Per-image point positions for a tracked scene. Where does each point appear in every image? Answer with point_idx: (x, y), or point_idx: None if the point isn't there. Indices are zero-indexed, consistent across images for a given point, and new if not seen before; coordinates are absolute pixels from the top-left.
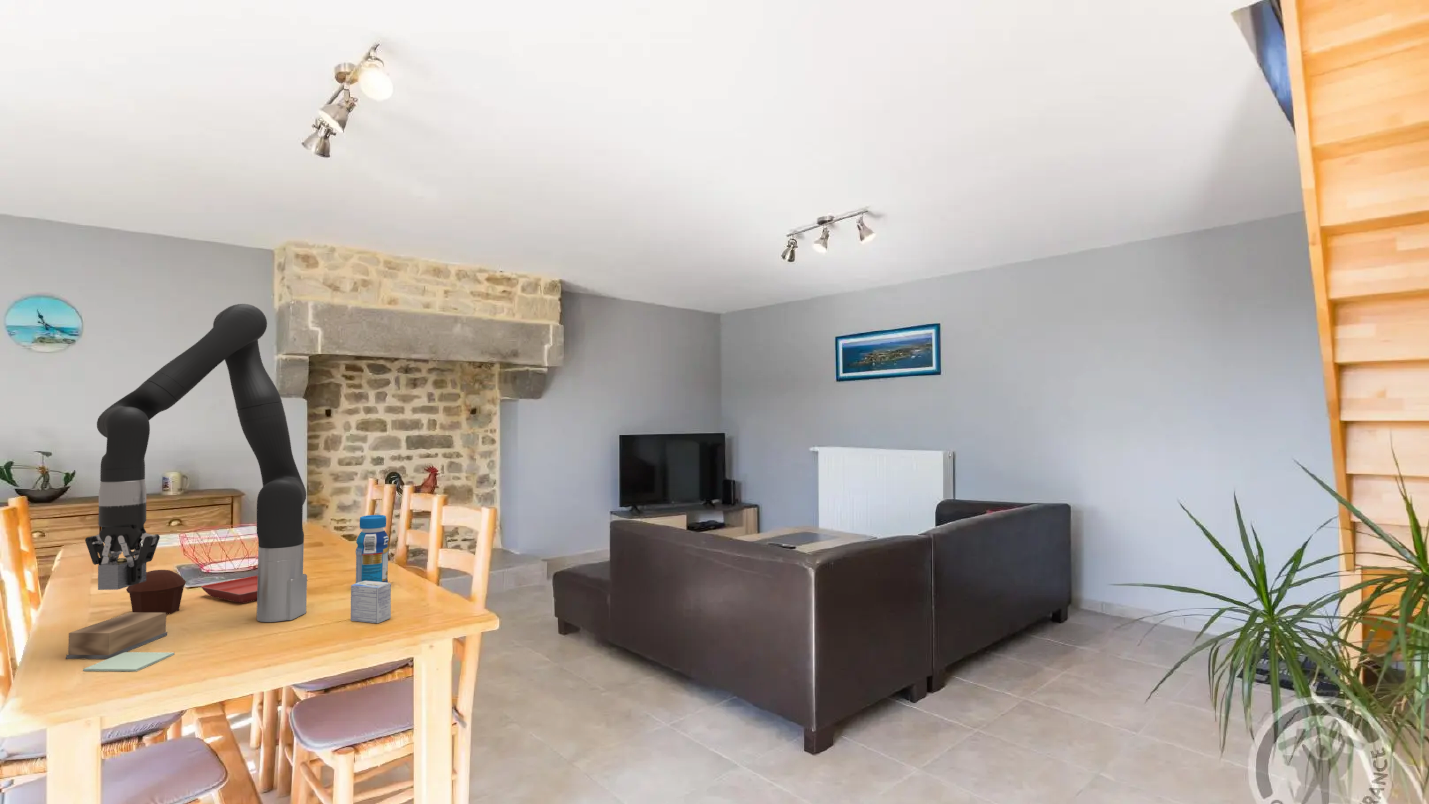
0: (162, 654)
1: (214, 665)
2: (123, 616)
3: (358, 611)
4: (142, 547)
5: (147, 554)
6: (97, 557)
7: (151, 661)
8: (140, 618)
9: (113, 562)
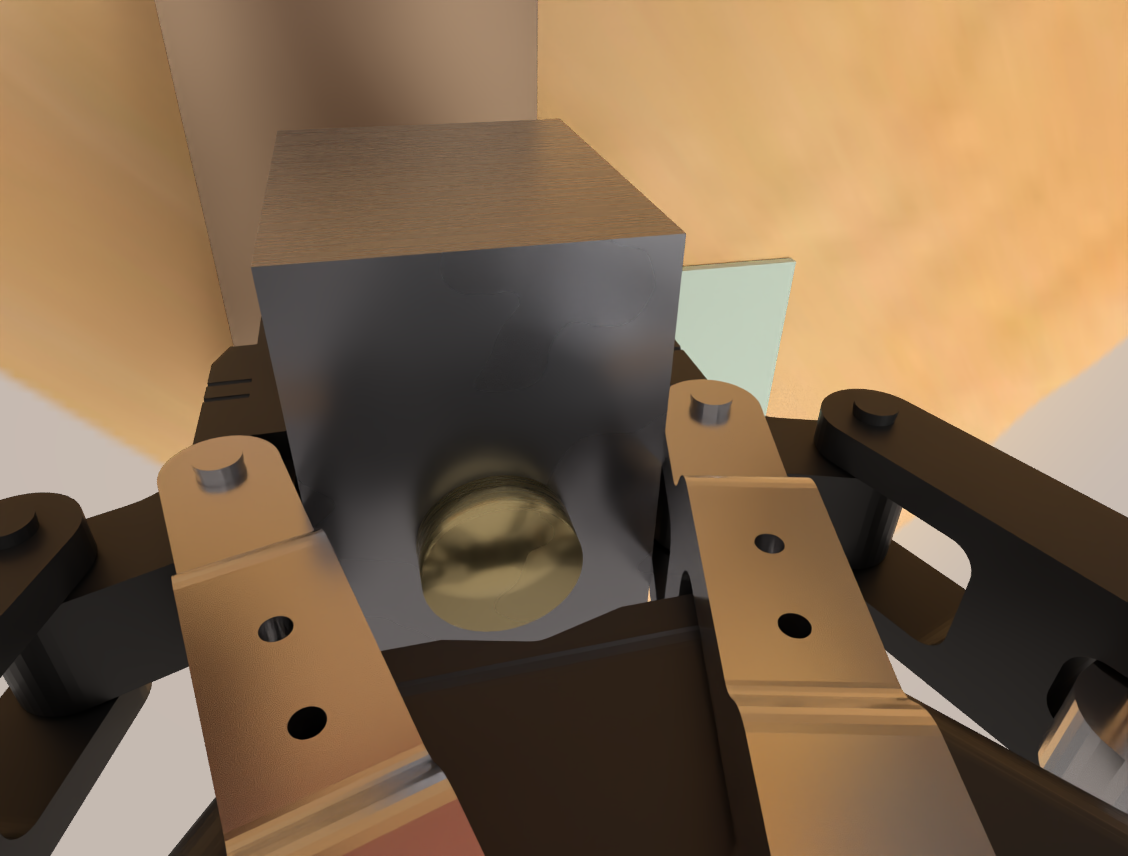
0: (754, 293)
1: (1010, 356)
2: (224, 15)
3: None
4: (1014, 739)
5: (907, 492)
6: (108, 757)
7: (760, 379)
8: (454, 80)
9: (417, 618)
